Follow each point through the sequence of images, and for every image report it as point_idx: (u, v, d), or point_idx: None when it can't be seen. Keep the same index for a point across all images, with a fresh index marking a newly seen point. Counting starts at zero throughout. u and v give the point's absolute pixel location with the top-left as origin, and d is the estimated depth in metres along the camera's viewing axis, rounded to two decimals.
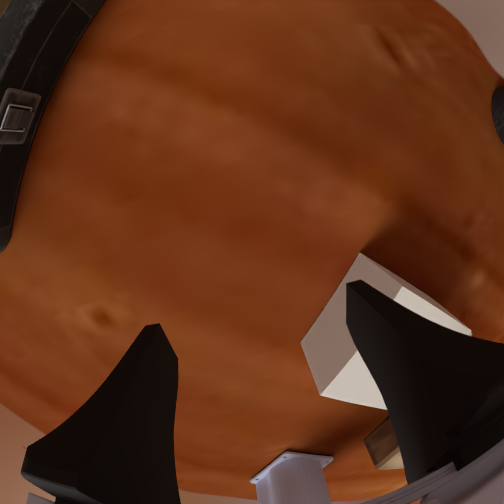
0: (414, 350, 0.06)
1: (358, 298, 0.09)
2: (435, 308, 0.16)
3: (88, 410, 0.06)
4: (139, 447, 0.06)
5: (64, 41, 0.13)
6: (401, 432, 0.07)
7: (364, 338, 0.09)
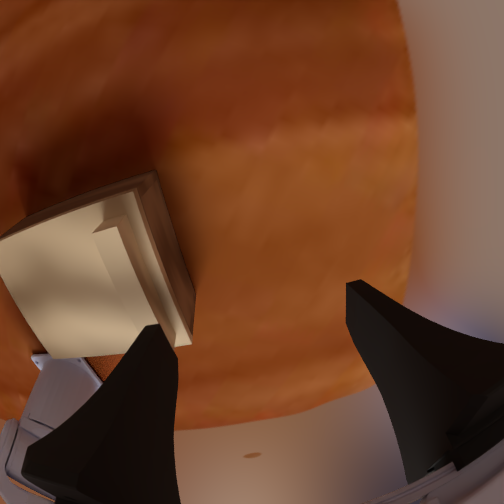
0: (414, 350, 0.06)
1: (358, 298, 0.09)
2: None
3: (88, 410, 0.06)
4: (139, 447, 0.06)
5: None
6: (401, 432, 0.07)
7: (364, 338, 0.09)
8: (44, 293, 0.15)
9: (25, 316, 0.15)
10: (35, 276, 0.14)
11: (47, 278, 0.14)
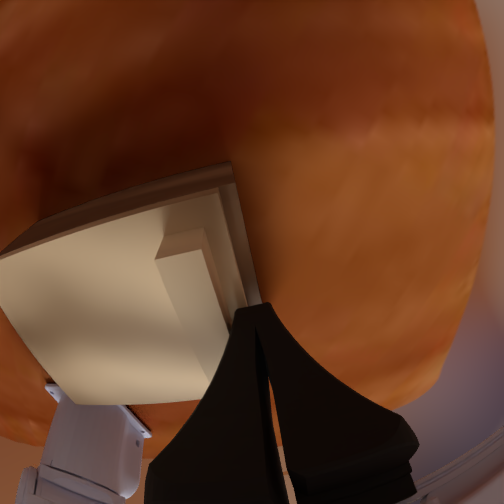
0: (273, 393, 0.06)
1: None
2: None
3: (215, 403, 0.06)
4: (269, 436, 0.06)
5: None
6: None
7: (265, 364, 0.09)
8: (64, 332, 0.11)
9: (37, 357, 0.11)
10: (51, 311, 0.10)
11: (68, 314, 0.10)
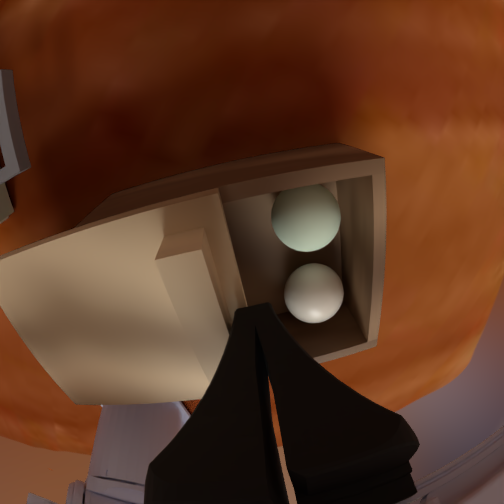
0: None
1: None
2: None
3: (215, 403, 0.06)
4: (269, 436, 0.06)
5: None
6: None
7: (265, 364, 0.09)
8: (64, 332, 0.11)
9: (37, 357, 0.11)
10: (51, 311, 0.10)
11: (68, 314, 0.10)
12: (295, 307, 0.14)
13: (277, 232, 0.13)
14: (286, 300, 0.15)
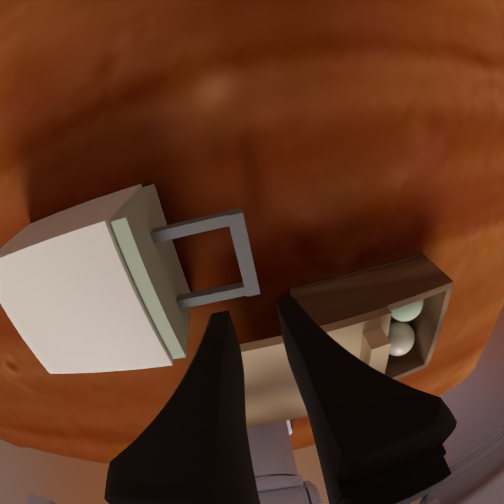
0: (312, 384, 0.06)
1: (281, 318, 0.09)
2: (16, 253, 0.11)
3: (178, 407, 0.06)
4: (234, 442, 0.06)
5: None
6: (321, 460, 0.07)
7: (291, 358, 0.09)
8: (272, 386, 0.19)
9: None
10: (270, 376, 0.18)
11: (284, 375, 0.18)
12: (391, 348, 0.22)
13: (392, 313, 0.21)
14: None
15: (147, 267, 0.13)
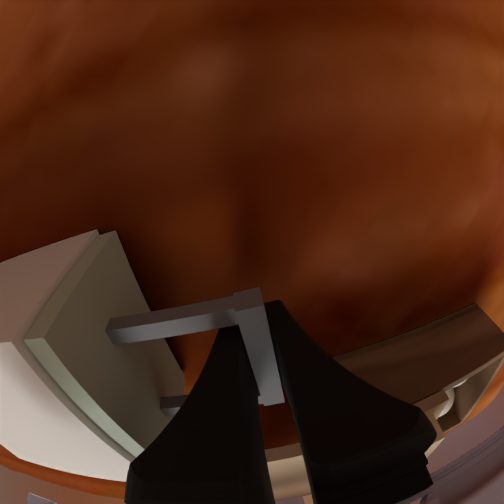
0: (291, 389, 0.06)
1: None
2: None
3: (197, 405, 0.06)
4: (252, 439, 0.06)
5: None
6: (305, 464, 0.07)
7: (277, 361, 0.09)
8: (291, 480, 0.12)
9: None
10: (290, 475, 0.12)
11: None
12: None
13: None
14: None
15: (103, 400, 0.06)
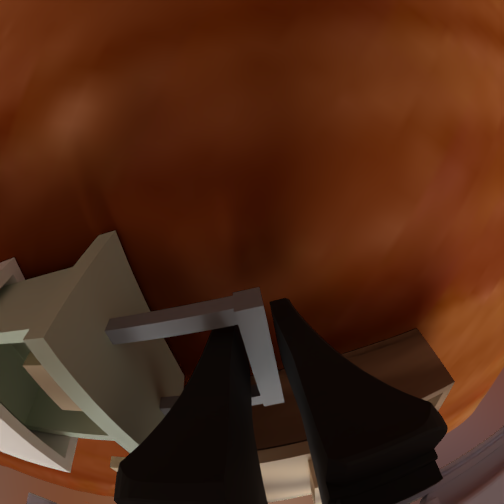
0: (302, 387, 0.06)
1: (274, 319, 0.09)
2: None
3: (187, 406, 0.06)
4: (243, 440, 0.06)
5: None
6: (313, 462, 0.07)
7: (284, 360, 0.09)
8: None
9: None
10: None
11: None
12: None
13: None
14: None
15: (102, 400, 0.06)
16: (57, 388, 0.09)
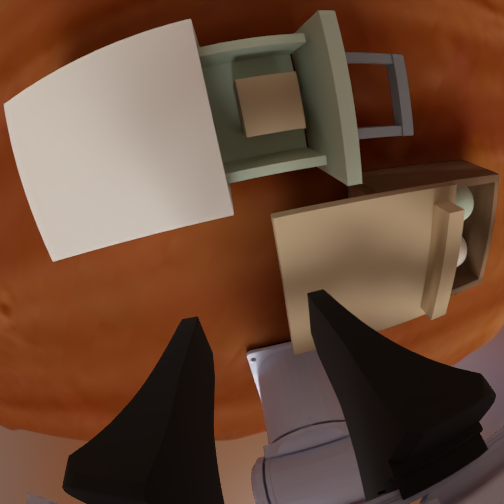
0: (360, 370, 0.06)
1: (316, 309, 0.09)
2: (61, 69, 0.09)
3: (135, 410, 0.06)
4: (190, 446, 0.06)
5: None
6: (357, 449, 0.07)
7: (324, 350, 0.09)
8: (342, 274, 0.16)
9: (290, 307, 0.17)
10: (342, 255, 0.16)
11: (357, 256, 0.16)
12: None
13: None
14: None
15: (344, 62, 0.10)
16: (262, 102, 0.13)
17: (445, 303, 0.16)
